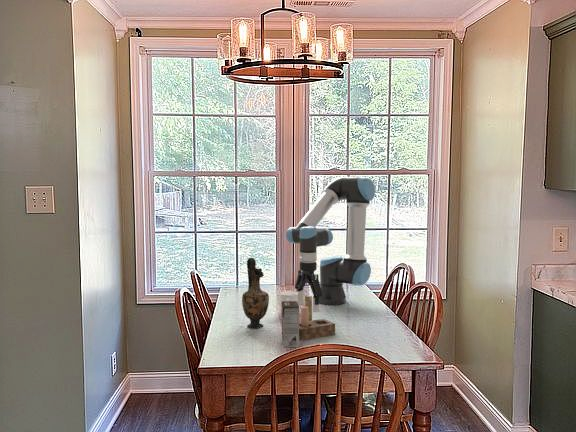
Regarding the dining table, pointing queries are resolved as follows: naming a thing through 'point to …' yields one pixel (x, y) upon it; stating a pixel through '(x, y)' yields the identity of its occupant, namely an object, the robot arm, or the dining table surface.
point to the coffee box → (290, 323)
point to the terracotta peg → (304, 316)
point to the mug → (288, 297)
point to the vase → (254, 296)
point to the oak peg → (309, 305)
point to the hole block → (316, 329)
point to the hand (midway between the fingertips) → (308, 308)
